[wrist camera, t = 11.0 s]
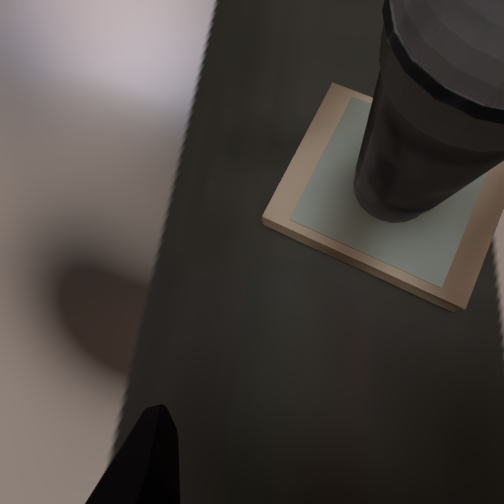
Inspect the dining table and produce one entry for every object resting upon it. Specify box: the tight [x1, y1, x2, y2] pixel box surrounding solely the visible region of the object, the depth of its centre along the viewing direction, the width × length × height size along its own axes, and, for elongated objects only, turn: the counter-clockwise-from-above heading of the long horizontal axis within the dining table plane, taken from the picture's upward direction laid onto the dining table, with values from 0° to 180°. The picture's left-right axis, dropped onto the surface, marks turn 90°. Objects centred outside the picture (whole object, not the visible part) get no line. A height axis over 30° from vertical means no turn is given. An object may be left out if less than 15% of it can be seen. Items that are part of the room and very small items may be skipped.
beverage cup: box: [353, 0, 504, 223], centre depth 12 cm, size 7×7×20 cm
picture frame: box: [262, 83, 504, 312], centre depth 23 cm, size 12×10×2 cm
